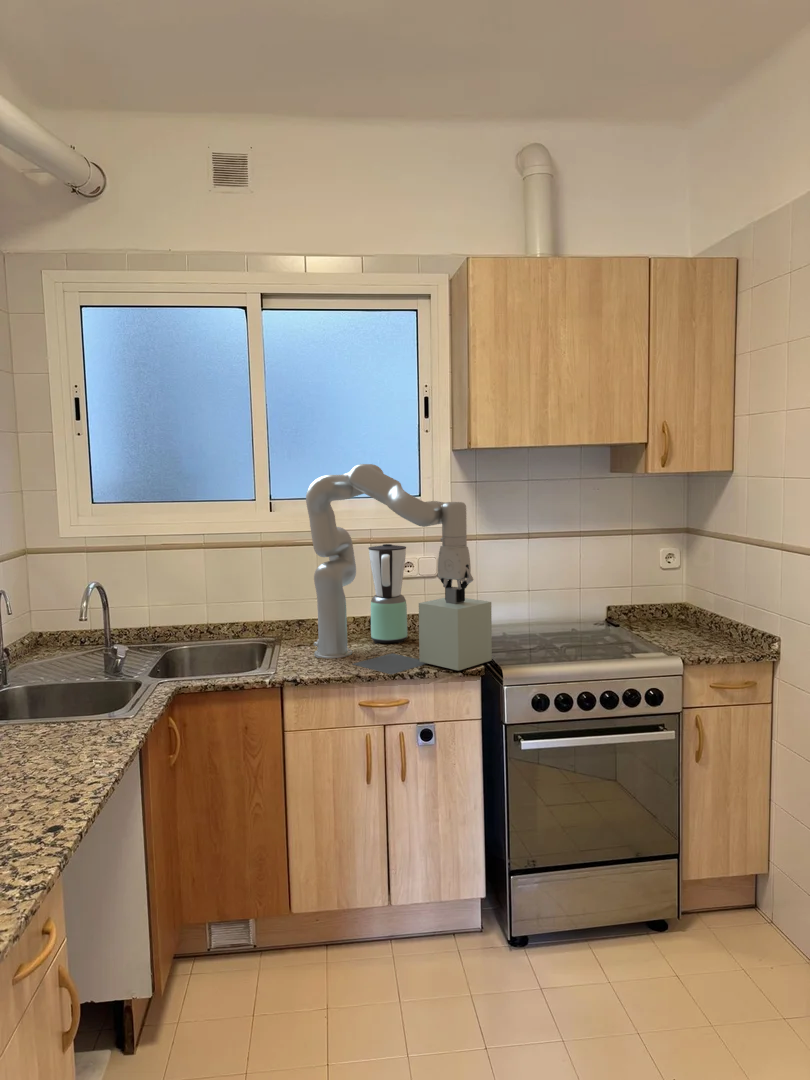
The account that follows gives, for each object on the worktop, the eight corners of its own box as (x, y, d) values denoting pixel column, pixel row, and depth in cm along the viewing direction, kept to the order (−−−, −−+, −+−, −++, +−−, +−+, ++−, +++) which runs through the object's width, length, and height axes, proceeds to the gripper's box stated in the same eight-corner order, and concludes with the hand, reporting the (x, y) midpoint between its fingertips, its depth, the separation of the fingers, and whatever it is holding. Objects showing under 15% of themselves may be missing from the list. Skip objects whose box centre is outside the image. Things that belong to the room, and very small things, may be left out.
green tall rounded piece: (372, 636, 272) (370, 542, 269) (408, 636, 272) (406, 542, 269) (368, 649, 253) (365, 548, 250) (407, 648, 253) (405, 547, 250)
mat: (351, 665, 232) (351, 664, 232) (392, 654, 245) (392, 653, 245) (391, 676, 219) (391, 674, 219) (432, 664, 232) (432, 662, 232)
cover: (419, 661, 230) (418, 588, 228) (453, 651, 241) (452, 582, 239) (458, 670, 219) (457, 594, 217) (491, 660, 230) (491, 587, 228)
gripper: (426, 541, 230) (427, 599, 232) (467, 544, 218) (468, 605, 220) (442, 539, 235) (443, 596, 237) (483, 542, 223) (483, 602, 225)
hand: (455, 600), depth 228 cm, fingers closed on cover, 4 cm apart
